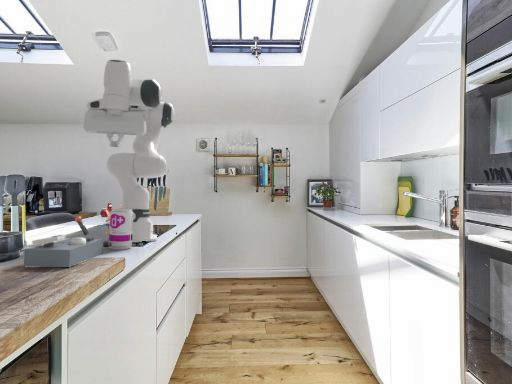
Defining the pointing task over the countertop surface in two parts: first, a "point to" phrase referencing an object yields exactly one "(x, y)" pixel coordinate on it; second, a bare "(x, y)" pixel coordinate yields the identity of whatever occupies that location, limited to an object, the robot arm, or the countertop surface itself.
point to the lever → (81, 225)
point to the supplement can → (120, 229)
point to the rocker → (48, 239)
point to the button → (78, 241)
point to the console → (62, 253)
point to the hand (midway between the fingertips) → (114, 146)
